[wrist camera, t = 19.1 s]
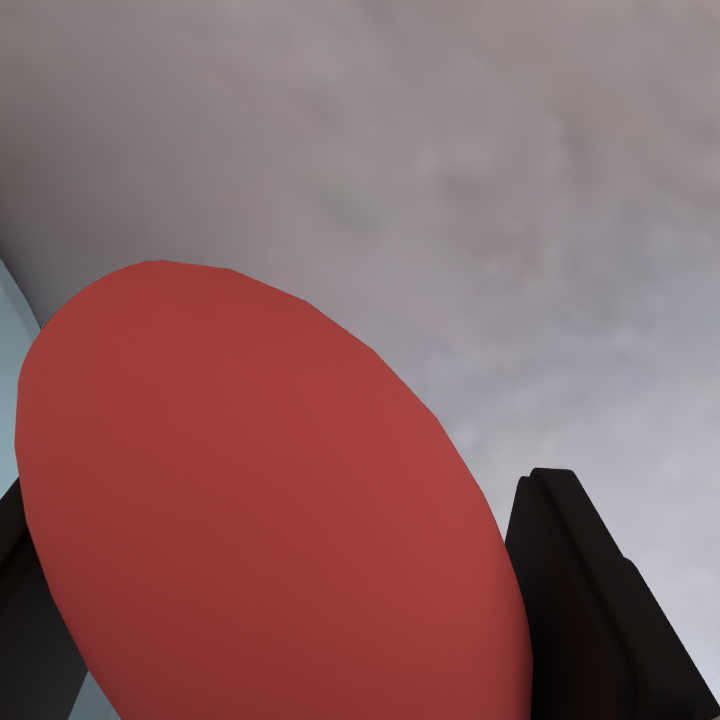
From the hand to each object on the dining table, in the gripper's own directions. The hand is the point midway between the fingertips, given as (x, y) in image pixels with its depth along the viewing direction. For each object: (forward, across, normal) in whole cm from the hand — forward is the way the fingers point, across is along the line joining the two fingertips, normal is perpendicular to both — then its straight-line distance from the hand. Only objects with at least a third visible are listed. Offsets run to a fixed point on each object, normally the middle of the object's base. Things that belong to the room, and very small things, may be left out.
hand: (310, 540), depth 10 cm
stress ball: (+1, 0, 0) cm, 1 cm away
